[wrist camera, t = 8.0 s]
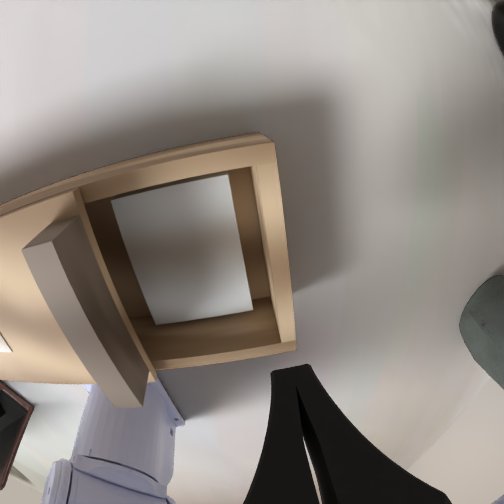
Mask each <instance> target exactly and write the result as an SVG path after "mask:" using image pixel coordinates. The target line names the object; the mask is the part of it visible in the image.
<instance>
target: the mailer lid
mask: <svg viewBox="0 0 504 504" xmlns="http://www.w3.org/2000/svg"><path fill="white" fill-rule="evenodd" d="M156 378H157V373H156V371H155V369H154V367H153V365H152V364H151V362H150V360H149V358H148V356H147V354H146V352H145V350H144V348H143V347H142V345H141V343H140V341H139V339H138V337H137V335H136V333H135V331H134V329H133V326H132V324H131V322H130V320H129V318H128V316H127V314H126V312H125V309H124V307H123V305H122V303H121V301H120V298H119V296H118V294H117V291H116V289H115V287H114V284H113V282H112V280H111V277H110V275H109V272H108V270H107V267H106V265H105V262H104V260H103V257H102V255H101V252H100V249H99V247H98V244H97V241H96V238H95V236H94V233H93V230H92V227H91V224H90V221H89V218H88V215H87V212H86V209H85V206H84V203H83V200H82V196H81V193H80V190H79V187H78V188H75V189H72V190H69V191H66V192H63V193H60V194H57V195H54V196H52V197H49V198H46V199H43V200H40V201H38V202H35V203H32V204H30V205H27V206H24V207H22V208H19V209H17V210H14V211H12V212H9V213H7V214H4V215H2V216H0V380H8V381H19V382H33V383H51V384H97V385H98V386H99V387H100V389H101V390H102V391H103V393H104V394H105V395H106V397H107V398H108V399H109V400H110V402H111V403H112V404H113V405H114V407H115V408H128V407H143V403H144V398H145V392H146V386H147V382H156Z"/></svg>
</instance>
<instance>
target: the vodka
mask: <svg viewBox="0 0 504 504" xmlns="http://www.w3.org/2000/svg"><path fill="white" fill-rule="evenodd" d="M459 327H460V332H461V335H462V337H463V340H464V343H465V344H466V346H467V348H468V349H469V351H470V353H471V355H472V356H473V358H474V360H475V361H476V362H477V363H478V364H479V365H480V366H481V367H482V368H483V369H484V370H485V371H486V372H487V373H488V374H489V375H490V376H491V377H492V378H493V379H494V380H495V381H496V382H497V383H498V384H499V385H500V386H501V387H502V388H503V389H504V276H502V275H500V276H495V277H493V278H491V279H489V280H487V281H486V282H485V283H484V284H483V285H482V286H481V287H479V289H478V290H477V291H476V292H475V293H474V295H473V296H472V297H471V299H470V300H469V302H468V303H467V305H466V307H465V309H464V311H463V313H462V316H461V319H460V324H459Z"/></svg>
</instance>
